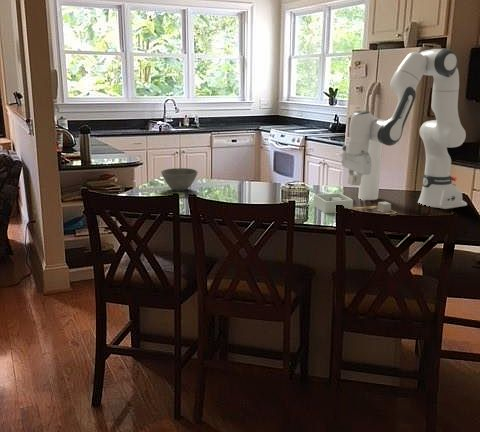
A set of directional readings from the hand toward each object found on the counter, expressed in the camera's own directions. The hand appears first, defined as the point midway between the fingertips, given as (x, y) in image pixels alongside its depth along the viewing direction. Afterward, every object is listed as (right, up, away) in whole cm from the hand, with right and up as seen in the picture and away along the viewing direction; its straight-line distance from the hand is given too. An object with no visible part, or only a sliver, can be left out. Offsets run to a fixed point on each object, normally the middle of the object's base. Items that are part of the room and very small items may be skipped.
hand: (354, 180), depth 226 cm
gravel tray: (+9, -15, +3) cm, 18 cm away
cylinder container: (+13, -7, +29) cm, 33 cm away
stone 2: (0, -2, 0) cm, 2 cm away
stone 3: (+14, -13, +5) cm, 20 cm away
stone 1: (-6, -11, +12) cm, 18 cm away
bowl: (-81, -2, +44) cm, 92 cm away
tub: (-8, -13, +9) cm, 18 cm away
